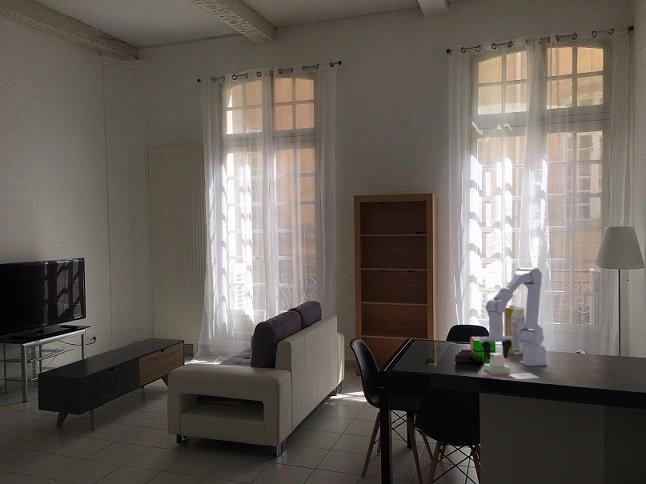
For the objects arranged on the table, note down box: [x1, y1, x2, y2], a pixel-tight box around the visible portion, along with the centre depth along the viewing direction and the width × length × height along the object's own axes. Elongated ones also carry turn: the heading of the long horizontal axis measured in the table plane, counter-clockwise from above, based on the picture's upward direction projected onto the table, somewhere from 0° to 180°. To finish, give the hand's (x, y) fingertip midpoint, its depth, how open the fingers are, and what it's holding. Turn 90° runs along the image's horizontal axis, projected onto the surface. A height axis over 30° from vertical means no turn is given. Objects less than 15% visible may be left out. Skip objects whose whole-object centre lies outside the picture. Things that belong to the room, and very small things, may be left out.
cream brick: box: [489, 352, 505, 367], centre depth 233 cm, size 4×4×5 cm
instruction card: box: [507, 372, 541, 380], centre depth 223 cm, size 10×8×1 cm
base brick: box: [483, 363, 511, 375], centre depth 232 cm, size 8×8×3 cm
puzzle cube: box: [469, 336, 497, 363], centre depth 256 cm, size 10×10×10 cm
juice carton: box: [503, 304, 526, 356], centre depth 267 cm, size 9×8×24 cm
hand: (496, 358), depth 232 cm, fingers open, 7 cm apart
